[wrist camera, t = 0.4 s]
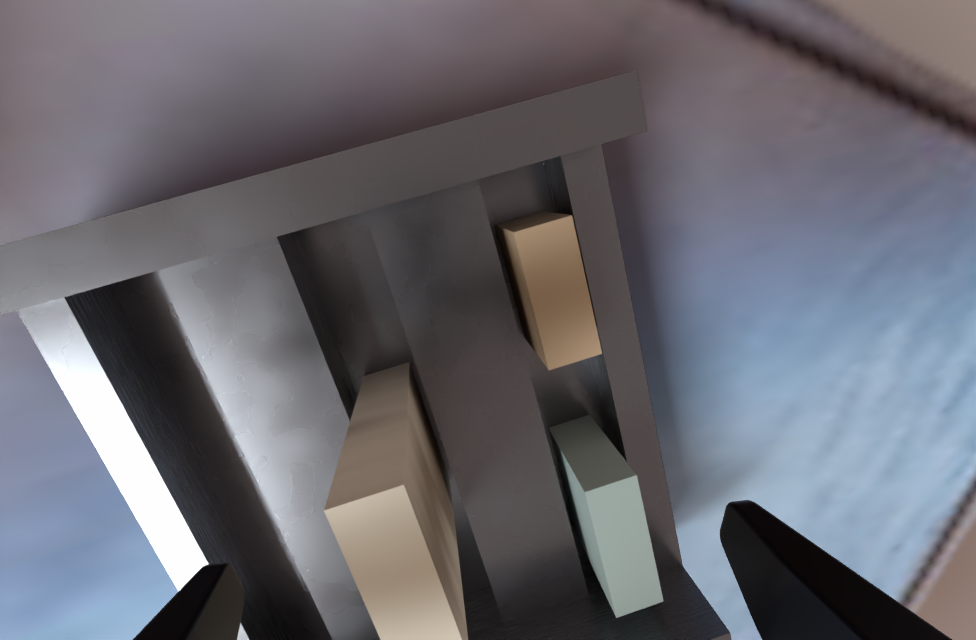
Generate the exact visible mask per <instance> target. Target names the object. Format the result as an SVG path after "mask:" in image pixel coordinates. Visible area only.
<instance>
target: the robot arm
mask: <svg viewBox="0 0 976 640" xmlns="http://www.w3.org/2000/svg"><path fill="white" fill-rule="evenodd" d="M720 539H721V543H722V546H723V548H724V551H725V553H726V556H727V558H728V561H729V563H730V565H731V568H732V570H733V573H734V575H735V577H736V580H737V582H738V585H739V587H740V589H741V592H742V594H743V597H744V599H745V602H746V604H747V606H748V609H749V611H750V614H751V616H752V618H753V621H754V623H755V625H756V627H757V630H758V632H759V634H760V636H761V638H762V640H952V639H950V638H949V637H948V636H946V635H944V634H943V633H942V632H940V631H938V630H937V629H936V628H935V627H933V626H932V625H930V624H929V623H927V622H926V621H924V620H923V619H921V618H920V617H919V616H917V615H916V614H914V613H913V612H912V611H910V610H909V609H907V608H906V607H904V606H903V605H902V604H900V603H899V602H897V601H896V600H894V599H893V598H891V597H890V596H889V595H887V594H886V593H884V592H883V591H881V590H880V589H879V588H877V587H876V586H874V585H873V584H871V583H870V582H868V581H867V580H866V579H864V578H863V577H861V576H860V575H858V574H857V573H856V572H854V571H853V570H851V569H850V568H848V567H847V566H845V565H844V564H843V563H841V562H840V561H838V560H837V559H835V558H834V557H833V556H831V555H830V554H828V553H827V552H825V551H824V550H822V549H821V548H820V547H818V546H817V545H815V544H814V543H812V542H811V541H810V540H808V539H807V538H805V537H804V536H802V535H801V534H799V533H798V532H797V531H795V530H794V529H792V528H791V527H789V526H788V525H787V524H785V523H784V522H782V521H781V520H779V519H778V518H776V517H775V516H774V515H772V514H771V513H769V512H768V511H766V510H765V509H764V508H762V507H761V506H759V505H758V504H756V503H755V502H752V501H749V500H744V501H735V502H730V503H729V504H728V505H727V506H726V510H725V513H724V517H723V521H722V525H721V529H720ZM244 599H245V597H244V590H243V587H242V585H241V583H240V581H239V579H238V577H237V575H236V572H235V570H234V568H233V566H232V565H231V564H230V563H228V562H223V563H215V564H208V565H205V566H203V567H202V568H201V569H200V570H199V571H198V572H197V573H196V574H195V575H194V576H193V577H192V578H191V579H190V580H189V581H188V582H187V583H186V584H185V585H184V586H183V587H182V588H181V589H180V591H179V592H178V593H177V594H176V595H175V596H174V597H173V598H172V599H171V600H170V601H169V602H168V603H167V604H166V605H165V606H164V607H163V608H162V610H161V611H160V612H159V613H158V614H157V615H156V616H155V617H154V618H153V619H152V620H151V621H150V622H149V623H148V624H147V625H146V626H145V627H144V628H143V630H142V631H141V632H140V633H139V634H138V635H137V636H136V637H135V638H134V639H133V640H237V637H238V632H239V627H240V622H241V617H242V612H243V607H244Z"/></svg>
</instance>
